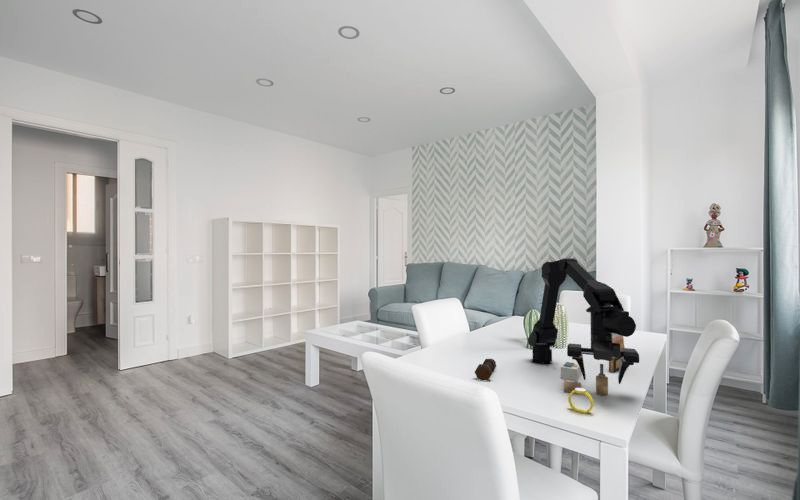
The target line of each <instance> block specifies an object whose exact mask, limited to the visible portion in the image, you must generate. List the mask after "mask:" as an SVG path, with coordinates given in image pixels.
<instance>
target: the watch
mask: <svg viewBox="0 0 800 500" xmlns="http://www.w3.org/2000/svg"><path fill="white" fill-rule="evenodd" d="M575 392H576V393H580V394H579V395H582V394H583V395H585V396H586V397H587V398H588V399H589V401H590V407H589V409H587V410H585V409H581V408H577V407H576V406H575V405H574V404H573V402H572V395H573V394H575ZM567 401H568V405H569V407H570V408H571V409H572V410H573V411H574V412H578V413H584V414H588V413H590V412H591V411H592V409H593V408H594V399H593V397H592V396H591V394H590V393H589V392H588V391H587V389H585V388H583V387H582V388H575V390H573V391H572V392H571V393H569V395H568V399H567Z"/></svg>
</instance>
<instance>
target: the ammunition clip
mask: <svg viewBox="0 0 800 500" xmlns="http://www.w3.org/2000/svg"><path fill="white" fill-rule="evenodd" d="M612 343H620V351H621V348H625V340H624V336H621V335H619V336H616V337H614V338H612ZM619 365H620V357H613V360H612V361H608V372H609V373H612V374H615V373H617V372H618V373H619Z"/></svg>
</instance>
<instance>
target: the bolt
mask: <svg viewBox="0 0 800 500" xmlns="http://www.w3.org/2000/svg"><path fill="white" fill-rule="evenodd" d="M496 368H497V363H496V361H495V360H494V359H493V358H485V359H484V361H483V363H479V364H478V366H477V367H476V369H475V370H474V374H475V376H476V377H477V379H478V380H479V379H480V380H479V381H483V380H488V381H489V380H490V379H491V377H492V375H493V372H494V371H495V370H496Z"/></svg>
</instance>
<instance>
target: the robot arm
mask: <svg viewBox="0 0 800 500" xmlns="http://www.w3.org/2000/svg"><path fill="white" fill-rule="evenodd" d="M567 275H568V277H569V278H571V280H573V281H574V283H575V284H576V285H577V286H578V287H579V288H580V289H581V290H582V293H583V294H582V295H583V298H584V300H585V301H586V303H587V304H588V305H589V307H588V308H586V309H585V311H586V312H587V313H589V314H590V348H589V347H582V344H581V343H580V344H579V343H568V344H567V347H566V350H567V351H566V354H567V355H566V356H567V357H569V358H570V357H571V360H574V361H575V362H576V364H578V365H579V367H580V369H581V376H582V378H583V380H584V381H585V380H586V371H585V363H584V362H585V361H584V356H583V355H589V356H590V355H591V356H593V360H597V361H600V360H602V361H607V362H609V361H612V360H613V357H620V365H619V371H618V377H617V379H618V385H621V383H622V381H623V378H624V376H625V373H626V371H627V369H628V368H629V367H630V366H634V364H640V353H639V352H638V351H637V350H636V349H635V348H628V347H626V348H625V347H624V348H621V351H620V343H612V333H614V334H618V335H621V336H623V337H627V338H628V337H630V336H632V335H633V334H634V333H635V332H636V330H637V329H636V328H637V324H636V321H635V320H634V318H633V317H631V316H630V312H629V311H627V310H625V309H624V307H623V304H622V303H621V301H620V300H619V297H618V296H617V293H616V291H615V289H614V288H612V287H611V286H609V285H608V284H606V283H603V282H601V281H598V280H596V279H595V278H594V277H593V276H592V275H591V274H590V272H588V271H587V270H586V269H585V268H584V267H582V265H580V263H579V262H578V260H577V259H575V258H573V257H572V258H568V257H567V258H566V257H565V258H561V259H559V260H555V261H545V262H544V263H543V264H542V266H541V278H542V280H543V282H544V289H543V294H542V301H541V306H540V307H541V308H540V313H539V319H538V320H537V321H536V322H535V324H533V327H532V331H531V332H530V334H529V336H528V338H527V344H528V345H530V346H531V347H532V359H531V363H537V364H545V365H547V364H548V365H551V362H552V361H553V349H552V348H551V347H555V345H556V341H557V339H558V332H559V330H558V328H557V327H556V325H555V323H554V320H555V314H556V308H557V302H558V296H559V291H560V290H559V289H560V286H562V284H564V282H565V280H566V279H567Z"/></svg>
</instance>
